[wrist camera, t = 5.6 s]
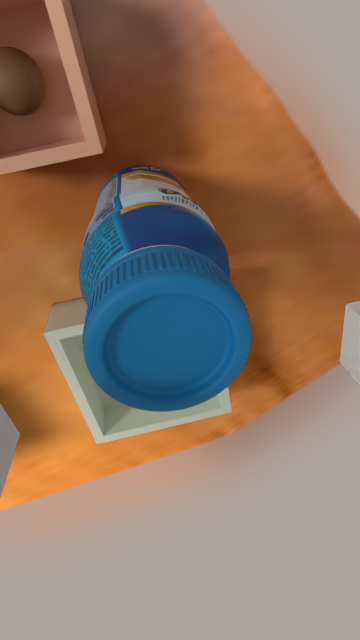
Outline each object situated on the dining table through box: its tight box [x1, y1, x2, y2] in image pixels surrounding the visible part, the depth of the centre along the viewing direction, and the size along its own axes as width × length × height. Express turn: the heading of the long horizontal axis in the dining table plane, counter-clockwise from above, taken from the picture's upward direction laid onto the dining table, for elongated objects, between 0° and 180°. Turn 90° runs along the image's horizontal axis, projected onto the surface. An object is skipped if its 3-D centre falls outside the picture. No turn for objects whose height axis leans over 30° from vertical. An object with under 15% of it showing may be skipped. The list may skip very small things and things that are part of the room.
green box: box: [43, 297, 232, 444], centre depth 35 cm, size 15×15×5 cm
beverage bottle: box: [79, 165, 252, 412], centre depth 22 cm, size 8×8×20 cm
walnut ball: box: [0, 46, 46, 116], centre depth 22 cm, size 4×4×4 cm
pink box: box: [0, 0, 107, 175], centre depth 21 cm, size 9×9×7 cm
